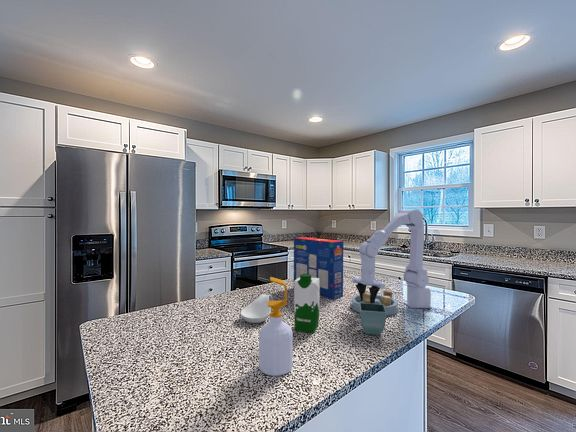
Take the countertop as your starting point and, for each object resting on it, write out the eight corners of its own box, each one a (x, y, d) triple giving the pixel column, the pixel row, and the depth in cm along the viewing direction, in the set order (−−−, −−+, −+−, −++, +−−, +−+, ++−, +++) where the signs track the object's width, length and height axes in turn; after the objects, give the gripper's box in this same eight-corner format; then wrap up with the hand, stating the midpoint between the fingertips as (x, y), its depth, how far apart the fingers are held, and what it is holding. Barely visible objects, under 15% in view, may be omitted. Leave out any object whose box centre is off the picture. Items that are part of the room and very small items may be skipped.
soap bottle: (259, 359, 84) (259, 274, 84) (290, 358, 85) (291, 274, 85) (258, 377, 75) (259, 282, 75) (294, 376, 76) (294, 281, 76)
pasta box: (343, 296, 147) (343, 241, 147) (332, 299, 142) (333, 242, 141) (303, 285, 168) (304, 237, 168) (293, 288, 163) (293, 237, 162)
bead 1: (374, 305, 126) (374, 294, 126) (368, 307, 123) (368, 295, 123) (366, 303, 129) (366, 292, 129) (360, 305, 126) (360, 293, 126)
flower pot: (386, 338, 99) (387, 312, 99) (359, 336, 101) (360, 310, 100) (383, 328, 107) (383, 304, 107) (359, 326, 109) (359, 302, 109)
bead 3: (383, 306, 129) (383, 295, 129) (392, 308, 126) (392, 297, 126) (379, 308, 126) (379, 297, 126) (388, 311, 123) (388, 299, 123)
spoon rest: (265, 328, 108) (265, 308, 108) (235, 325, 110) (235, 306, 110) (281, 307, 131) (281, 291, 131) (256, 305, 133) (256, 290, 133)
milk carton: (291, 331, 104) (291, 275, 104) (299, 322, 113) (299, 270, 113) (315, 334, 101) (316, 277, 101) (321, 325, 110) (321, 272, 110)
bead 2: (390, 300, 141) (390, 290, 141) (393, 303, 137) (393, 292, 137) (382, 300, 141) (382, 290, 141) (384, 303, 137) (384, 292, 137)
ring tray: (389, 301, 140) (389, 293, 140) (405, 316, 120) (405, 307, 120) (347, 300, 140) (347, 293, 140) (356, 315, 120) (356, 307, 120)
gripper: (348, 269, 128) (348, 300, 128) (379, 274, 118) (378, 308, 118) (357, 267, 133) (356, 296, 133) (387, 272, 123) (386, 304, 123)
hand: (367, 302), depth 126 cm, fingers closed on bead 1, 4 cm apart
